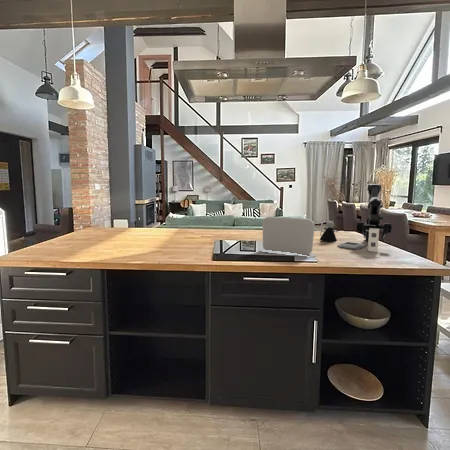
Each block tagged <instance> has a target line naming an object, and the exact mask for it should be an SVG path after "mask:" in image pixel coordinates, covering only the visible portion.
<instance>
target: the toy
mask: <svg viewBox="0 0 450 450" xmlns="http://www.w3.org/2000/svg"><path fill="white" fill-rule="evenodd" d="M320 223H321V225H320V232H319V233H320V234H319V236H320V239H319V241H321V242H324V243H334V242H335V243H336V242H337V241H338V239H337V236H336V234H335V233H338V232H339V231H338V227H335V222H334V220H332V221H331V220H327V221H326V223H325V224H326V225H325V226H326V227H324V228H323V224H324V221H323V220H321V221H320ZM334 227H335V228H334ZM323 229H324V230H323Z"/></svg>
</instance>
